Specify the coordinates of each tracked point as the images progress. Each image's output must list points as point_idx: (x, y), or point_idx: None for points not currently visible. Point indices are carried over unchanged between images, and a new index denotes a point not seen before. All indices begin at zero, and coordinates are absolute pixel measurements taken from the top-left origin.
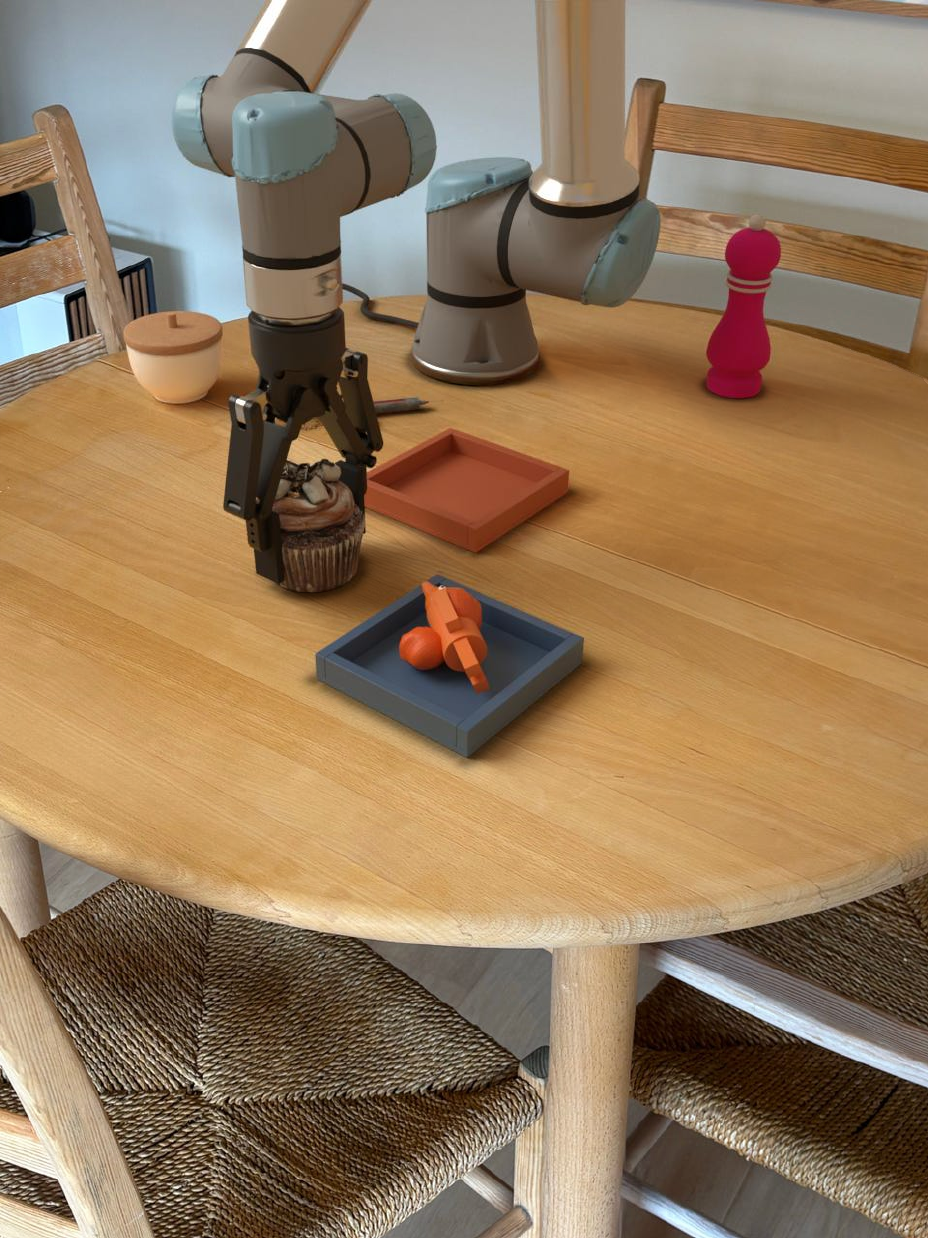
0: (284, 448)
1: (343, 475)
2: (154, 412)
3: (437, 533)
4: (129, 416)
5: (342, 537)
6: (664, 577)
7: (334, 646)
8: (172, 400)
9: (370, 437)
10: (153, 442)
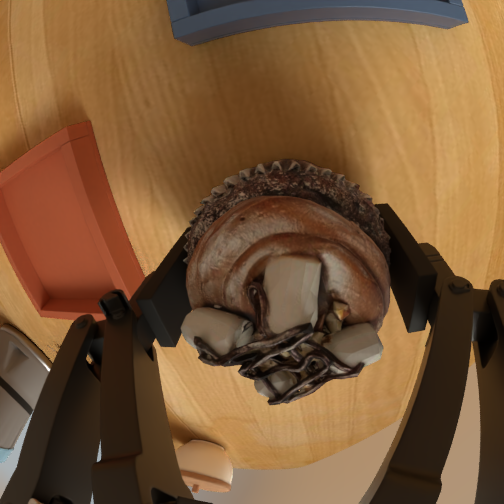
0: (428, 442)
1: (174, 316)
2: (234, 446)
3: (104, 182)
4: (251, 449)
5: (285, 172)
6: (14, 11)
7: (442, 7)
8: (218, 447)
9: (84, 345)
10: (258, 435)
